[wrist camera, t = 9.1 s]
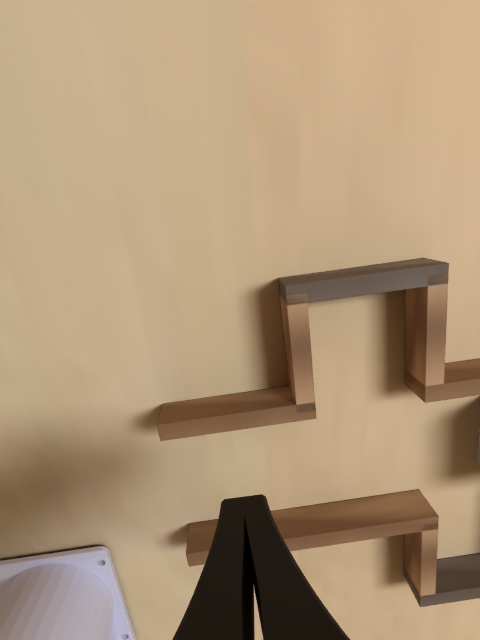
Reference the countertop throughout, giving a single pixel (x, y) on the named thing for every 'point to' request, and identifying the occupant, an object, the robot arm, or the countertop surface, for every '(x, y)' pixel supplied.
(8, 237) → the countertop surface
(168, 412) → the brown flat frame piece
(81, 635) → the robot arm
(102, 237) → the countertop surface
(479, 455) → the block
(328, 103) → the countertop surface
